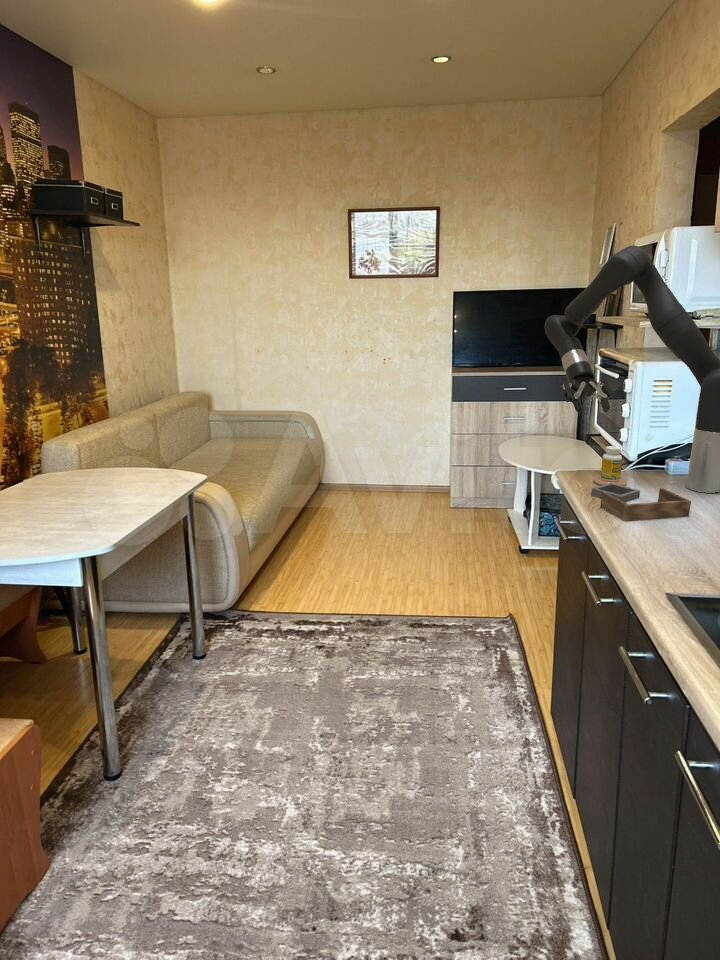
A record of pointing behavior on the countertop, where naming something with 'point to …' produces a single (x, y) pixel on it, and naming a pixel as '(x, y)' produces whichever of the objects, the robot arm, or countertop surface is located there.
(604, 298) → the robot arm
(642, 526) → the countertop surface
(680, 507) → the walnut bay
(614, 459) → the supplement bottle
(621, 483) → the tan round disc
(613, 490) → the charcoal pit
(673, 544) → the countertop surface
